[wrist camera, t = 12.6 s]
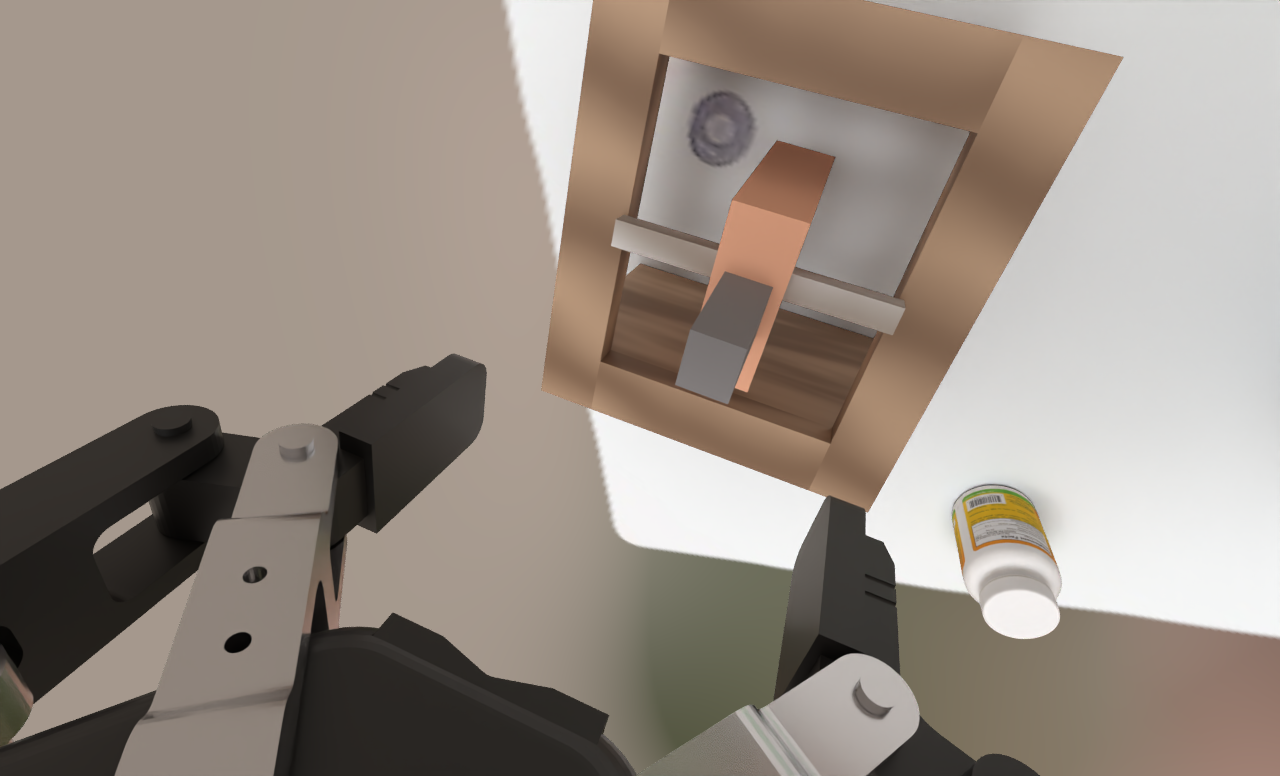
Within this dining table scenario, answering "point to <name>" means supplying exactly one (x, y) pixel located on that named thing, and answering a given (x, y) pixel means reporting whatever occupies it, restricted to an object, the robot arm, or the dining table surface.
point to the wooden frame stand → (797, 345)
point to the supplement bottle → (1007, 561)
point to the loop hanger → (753, 270)
